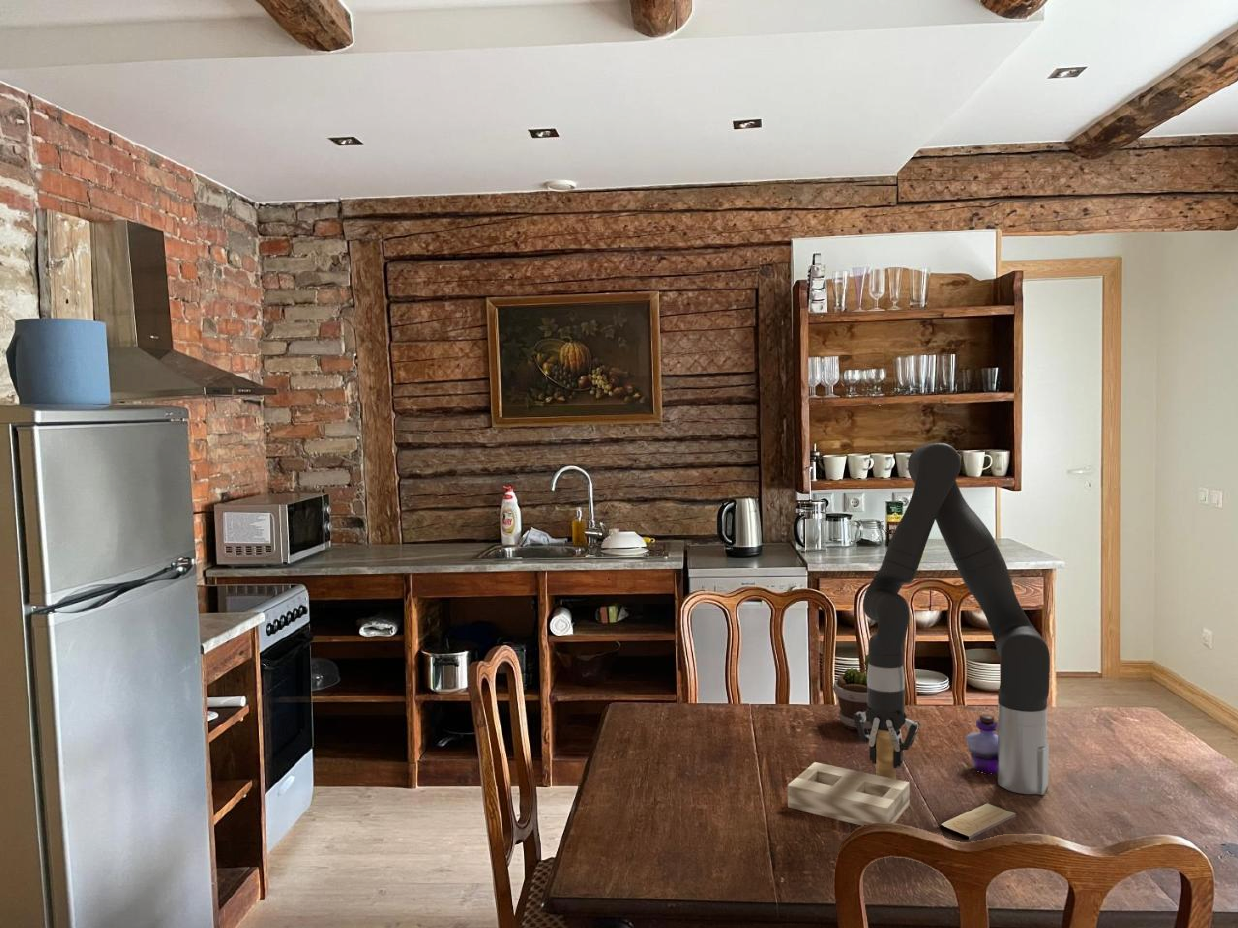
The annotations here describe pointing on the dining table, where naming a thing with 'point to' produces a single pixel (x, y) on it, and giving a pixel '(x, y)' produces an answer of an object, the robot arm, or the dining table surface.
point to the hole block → (848, 795)
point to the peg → (885, 755)
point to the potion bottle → (984, 745)
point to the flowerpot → (852, 695)
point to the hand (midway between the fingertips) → (885, 764)
